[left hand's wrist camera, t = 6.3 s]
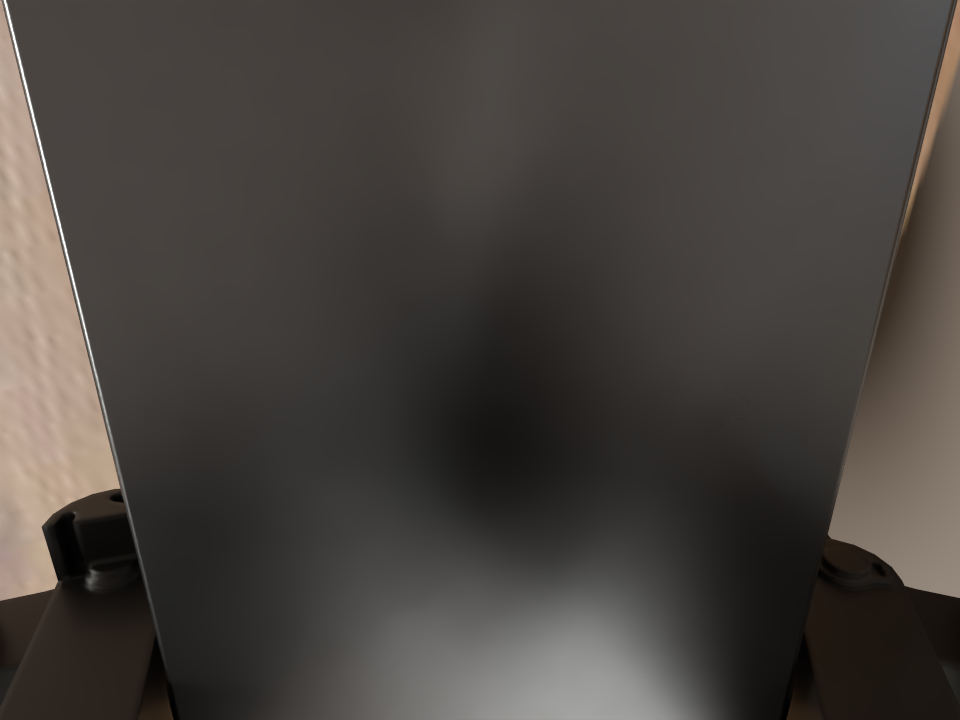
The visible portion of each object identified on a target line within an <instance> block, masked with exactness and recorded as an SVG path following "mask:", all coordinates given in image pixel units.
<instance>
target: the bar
mask: <svg viewBox="0 0 960 720" xmlns="http://www.w3.org/2000/svg"><path fill="white" fill-rule="evenodd" d="M2 4H3V8H4V12H5V16H6V20H7V24H8V28H9V32H10V37H11V41H12V45H13V49H14V53H15V57H16V61H17V65H18V69H19V73H20V78H21V82H22V86H23V90H24V94H25V98H26V102H27V106H28V110H29V115H30V119H31V123H32V127H33V131H34V135H35V139H36V143H37V147H38V151H39V156H40V160H41V164H42V168H43V172H44V176H45V180H46V184H47V188H48V193H49V197H50V201H51V205H52V209H53V213H54V217H55V221H56V225H57V230H58V234H59V238H60V242H61V246H62V250H63V254H64V258H65V262H66V266H67V271H68V275H69V279H70V283H71V287H72V291H73V295H74V299H75V303H76V308H77V312H78V316H79V320H80V324H81V328H82V332H83V336H84V340H85V344H86V349H87V353H88V357H89V361H90V365H91V369H92V373H93V377H94V381H95V386H96V390H97V394H98V398H99V402H100V406H101V410H102V414H103V418H104V422H105V427H106V431H107V435H108V439H109V443H110V447H111V451H112V455H113V459H114V464H115V468H116V472H117V476H118V480H119V484H120V488H121V492H122V496H123V500H124V505H125V509H126V513H127V517H128V521H129V525H130V529H131V533H132V537H133V542H134V546H135V550H136V554H137V558H138V562H139V566H140V570H141V574H142V579H143V583H144V587H145V591H146V595H147V599H148V603H149V607H150V611H151V615H152V620H153V624H154V628H155V632H156V636H157V640H158V644H159V648H160V652H161V657H162V661H163V665H164V669H165V673H166V677H167V681H168V685H169V689H170V693H171V698H172V702H173V706H174V710H175V714H176V718H177V720H783V716H784V712H785V707H786V703H787V699H788V695H789V691H790V687H791V683H792V679H793V674H794V670H795V666H796V662H797V658H798V654H799V650H800V646H801V642H802V637H803V633H804V629H805V625H806V621H807V617H808V613H809V609H810V605H811V600H812V596H813V592H814V588H815V584H816V580H817V576H818V572H819V567H820V563H821V559H822V555H823V551H824V547H825V543H826V539H827V535H828V530H829V526H830V522H831V518H832V514H833V510H834V506H835V502H836V497H837V493H838V489H839V485H840V481H841V477H842V473H843V468H844V465H845V460H846V456H847V452H848V448H849V444H850V440H851V436H852V431H853V427H854V423H855V419H856V415H857V411H858V407H859V403H860V399H861V395H862V391H863V386H864V382H865V378H866V374H867V370H868V366H869V362H870V358H871V353H872V349H873V345H874V341H875V337H876V333H877V329H878V325H879V321H880V316H881V312H882V308H883V304H884V300H885V296H886V292H887V287H888V284H889V279H890V275H891V271H892V267H893V263H894V259H895V255H896V251H897V246H898V242H899V238H900V234H901V230H902V226H903V222H904V218H905V214H906V209H907V205H908V201H909V197H910V193H911V189H912V185H913V181H914V177H915V172H916V168H917V164H918V160H919V156H920V152H921V148H922V144H923V139H924V135H925V131H926V127H927V123H928V119H929V115H930V111H931V107H932V102H933V98H934V94H935V90H936V86H937V82H938V78H939V74H940V70H941V65H942V61H943V57H944V53H945V49H946V45H947V41H948V37H949V32H950V28H951V24H952V20H953V16H954V12H955V8H956V4H957V0H2Z"/></svg>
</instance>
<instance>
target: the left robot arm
mask: <svg viewBox="0 0 960 720" xmlns="http://www.w3.org/2000/svg"><path fill="white" fill-rule="evenodd" d="M42 530H43V533H44V536H45V539H46V543H47V546H48V549H49V552H50V556H51V559H52V562H53V566H54V569H55V572H56V575H57V579H58V583H57V585H56V587H55V589H53V590H49V591H45V592H41V593H36V594H31V595H26V596H22V597H17V598H12V599H7V600H2V601H0V720H177V718H176V714H175V710H174V706H173V702H172V698H171V693H170V689H169V685H168V681H167V677H166V673H165V669H164V665H163V661H162V657H161V652H160V648H159V644H158V640H157V636H156V632H155V628H154V624H153V620H152V615H151V611H150V607H149V603H148V599H147V595H146V591H145V587H144V583H143V579H142V574H141V570H140V566H139V562H138V558H137V554H136V550H135V546H134V542H133V537H132V533H131V529H130V525H129V521H128V517H127V513H126V509H125V505H124V500H123V496H122V492H121V489H113V490H109V491H104V492H100V493H96V494H92V495H89V496H87V497H85V498H82V499H80V500H77V501H75V502H72V503H70V504H69V505H67V506H65V507H64V508H62V509H61V510H59V511H57V512H56V513H54V514H53V515H52V516H51V517H50V518H49V519H48V520H47V521H46V523H45V524H44V525H43V526H42ZM783 720H960V598H956V597H951V596H947V595H942V594H937V593H932V592H927V591H922V590H918V589H913V588H910V587H906V586H904V584H903V582H902V580H901V579H900V577H899V576H898V575H897V573H896V572H895V571H894V569H893V568H892V567H891V566H889V565H888V564H887V563H886V562H884V561H883V560H881V559H880V558H879V557H877V556H876V555H875V554H872V553H870V552H868V551H866V550H864V549H862V548H860V547H858V546H855V545H852V544H849V543H845V542H841V541H837V540H834V539H831V538H830V537H829V536H828V535H827V539H826V543H825V547H824V551H823V555H822V559H821V563H820V567H819V572H818V576H817V580H816V584H815V588H814V592H813V596H812V600H811V605H810V609H809V613H808V617H807V621H806V625H805V629H804V633H803V637H802V642H801V646H800V650H799V654H798V658H797V662H796V666H795V670H794V674H793V679H792V683H791V687H790V691H789V695H788V699H787V703H786V707H785V712H784V716H783Z"/></svg>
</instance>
